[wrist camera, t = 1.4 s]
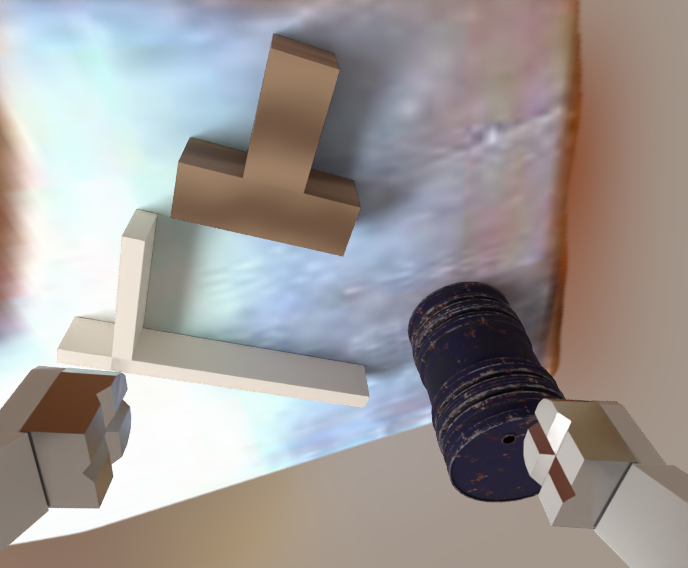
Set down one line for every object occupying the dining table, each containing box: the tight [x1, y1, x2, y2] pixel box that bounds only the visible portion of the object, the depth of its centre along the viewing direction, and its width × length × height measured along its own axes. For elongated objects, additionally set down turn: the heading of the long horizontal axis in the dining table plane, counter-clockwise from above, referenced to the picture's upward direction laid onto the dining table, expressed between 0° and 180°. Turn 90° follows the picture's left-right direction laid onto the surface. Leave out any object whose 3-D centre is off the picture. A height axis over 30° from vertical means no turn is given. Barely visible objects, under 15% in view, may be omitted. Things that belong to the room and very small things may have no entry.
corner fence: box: [57, 209, 369, 408], centre depth 42 cm, size 13×26×4 cm, turn 72°
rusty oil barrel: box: [408, 282, 565, 502], centre depth 41 cm, size 10×10×15 cm
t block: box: [171, 34, 361, 256], centre depth 34 cm, size 12×12×4 cm
